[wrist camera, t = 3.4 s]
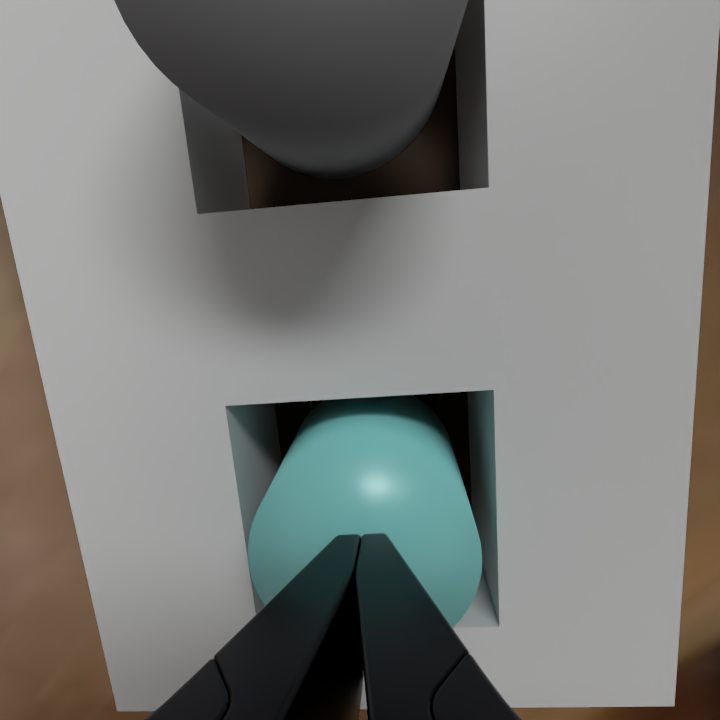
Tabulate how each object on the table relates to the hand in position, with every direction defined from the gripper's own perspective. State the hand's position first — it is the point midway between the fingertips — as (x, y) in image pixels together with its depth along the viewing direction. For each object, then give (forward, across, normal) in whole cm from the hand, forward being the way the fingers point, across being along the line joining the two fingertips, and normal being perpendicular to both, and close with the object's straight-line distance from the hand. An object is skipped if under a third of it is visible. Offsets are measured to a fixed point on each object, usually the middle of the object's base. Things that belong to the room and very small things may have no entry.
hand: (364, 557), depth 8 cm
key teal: (+4, 0, 0) cm, 4 cm away
